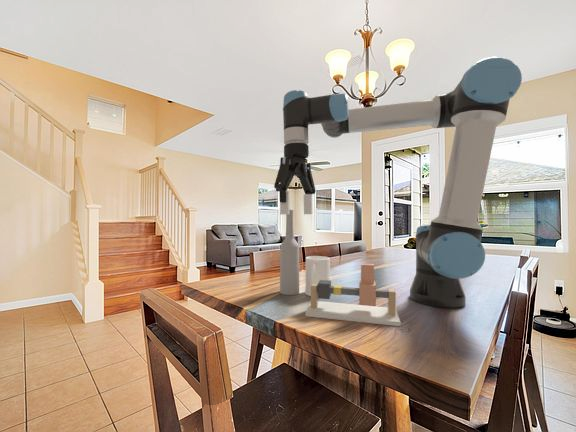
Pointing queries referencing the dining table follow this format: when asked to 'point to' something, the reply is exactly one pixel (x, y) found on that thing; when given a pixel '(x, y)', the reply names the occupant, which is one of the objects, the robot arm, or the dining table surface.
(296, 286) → the bottle
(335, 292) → the rail fixture
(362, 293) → the sleeve
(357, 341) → the dining table surface
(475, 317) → the dining table surface
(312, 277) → the mug
